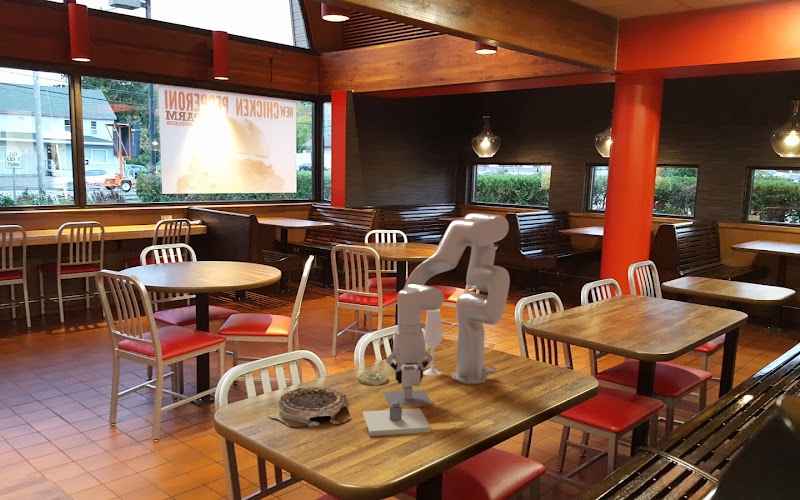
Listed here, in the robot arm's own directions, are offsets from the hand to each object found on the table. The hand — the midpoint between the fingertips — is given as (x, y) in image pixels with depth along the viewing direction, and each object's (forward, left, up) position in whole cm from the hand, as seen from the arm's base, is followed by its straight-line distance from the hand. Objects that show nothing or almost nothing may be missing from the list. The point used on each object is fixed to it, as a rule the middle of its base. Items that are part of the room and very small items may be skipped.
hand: (409, 381), depth 199 cm
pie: (+31, +2, -8) cm, 32 cm away
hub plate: (+8, +16, -7) cm, 19 cm away
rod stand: (+1, 0, -7) cm, 7 cm away
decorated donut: (+9, -18, -7) cm, 21 cm away
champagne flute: (-14, -26, -7) cm, 30 cm away
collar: (0, 0, -1) cm, 1 cm away
